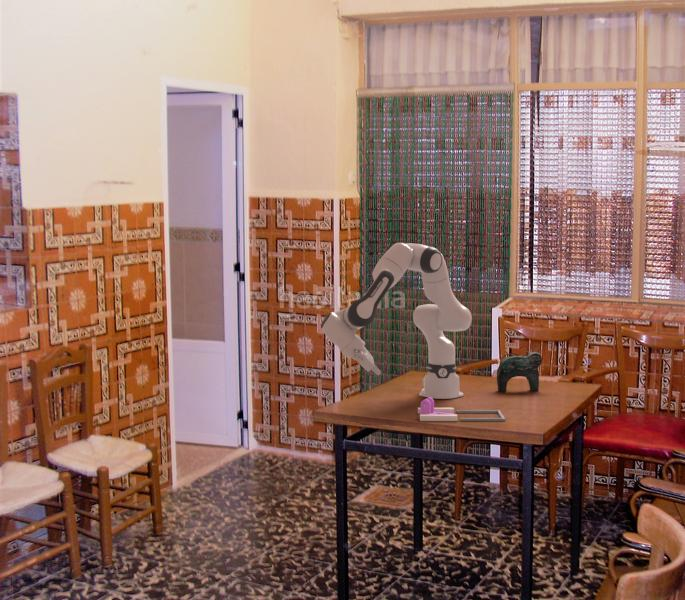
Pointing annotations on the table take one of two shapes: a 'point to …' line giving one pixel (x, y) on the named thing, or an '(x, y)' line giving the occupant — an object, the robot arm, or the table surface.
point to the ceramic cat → (519, 369)
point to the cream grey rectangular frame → (454, 416)
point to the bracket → (429, 407)
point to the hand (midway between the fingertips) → (379, 373)
